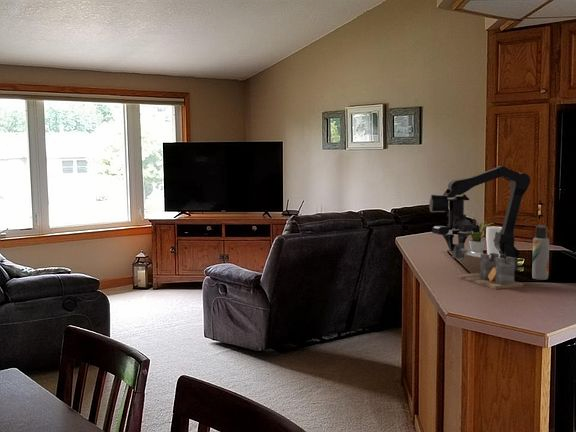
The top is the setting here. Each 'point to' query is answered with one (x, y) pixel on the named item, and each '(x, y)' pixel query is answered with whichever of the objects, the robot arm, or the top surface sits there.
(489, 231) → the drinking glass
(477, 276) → the shaft stand
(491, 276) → the spacer
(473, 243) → the house plant
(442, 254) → the top surface
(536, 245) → the lotion bottle
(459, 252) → the shaft
